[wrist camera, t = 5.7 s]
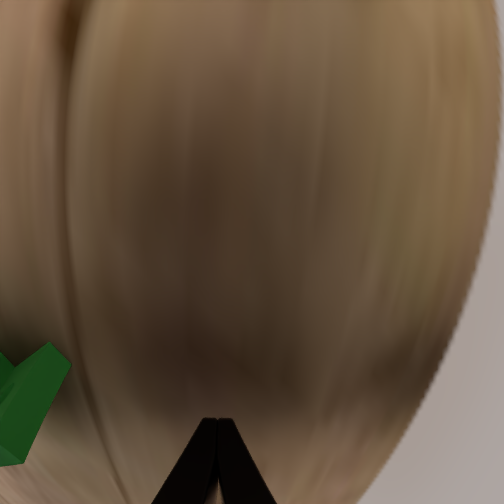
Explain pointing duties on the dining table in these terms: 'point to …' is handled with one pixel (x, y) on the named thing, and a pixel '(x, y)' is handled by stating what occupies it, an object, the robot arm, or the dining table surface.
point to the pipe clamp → (27, 399)
